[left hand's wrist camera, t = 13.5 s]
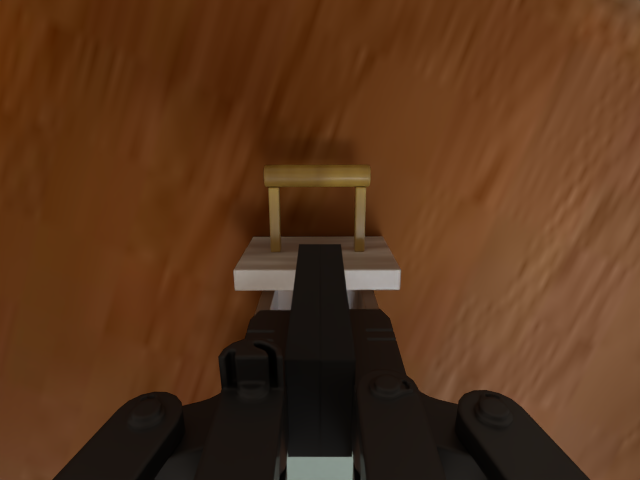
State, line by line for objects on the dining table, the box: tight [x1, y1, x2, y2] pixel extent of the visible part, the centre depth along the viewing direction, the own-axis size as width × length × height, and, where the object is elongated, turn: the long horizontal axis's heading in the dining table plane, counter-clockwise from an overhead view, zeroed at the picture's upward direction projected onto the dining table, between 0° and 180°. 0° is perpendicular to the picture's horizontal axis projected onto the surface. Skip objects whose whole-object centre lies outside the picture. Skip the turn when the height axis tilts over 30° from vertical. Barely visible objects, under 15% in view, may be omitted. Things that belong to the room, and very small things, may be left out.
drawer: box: [234, 165, 401, 316], centre depth 27 cm, size 25×9×7 cm, turn 0°
